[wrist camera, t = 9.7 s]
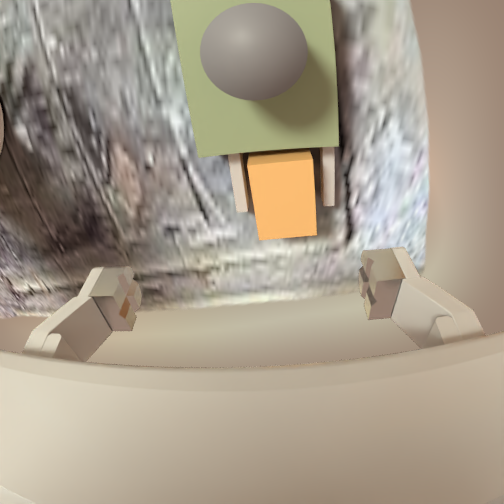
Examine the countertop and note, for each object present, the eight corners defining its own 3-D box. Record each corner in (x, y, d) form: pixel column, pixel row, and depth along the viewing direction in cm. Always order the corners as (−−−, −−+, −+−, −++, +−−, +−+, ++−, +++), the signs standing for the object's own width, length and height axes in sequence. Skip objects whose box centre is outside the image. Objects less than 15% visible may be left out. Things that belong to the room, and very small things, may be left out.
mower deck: (218, 203, 32) (203, 261, 25) (182, -6, 19) (144, -22, 12) (330, 195, 31) (349, 252, 24) (317, -20, 18) (340, -45, 11)
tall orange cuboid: (260, 211, 32) (259, 240, 28) (250, 145, 28) (247, 165, 24) (310, 206, 32) (316, 235, 28) (306, 139, 28) (312, 159, 24)
